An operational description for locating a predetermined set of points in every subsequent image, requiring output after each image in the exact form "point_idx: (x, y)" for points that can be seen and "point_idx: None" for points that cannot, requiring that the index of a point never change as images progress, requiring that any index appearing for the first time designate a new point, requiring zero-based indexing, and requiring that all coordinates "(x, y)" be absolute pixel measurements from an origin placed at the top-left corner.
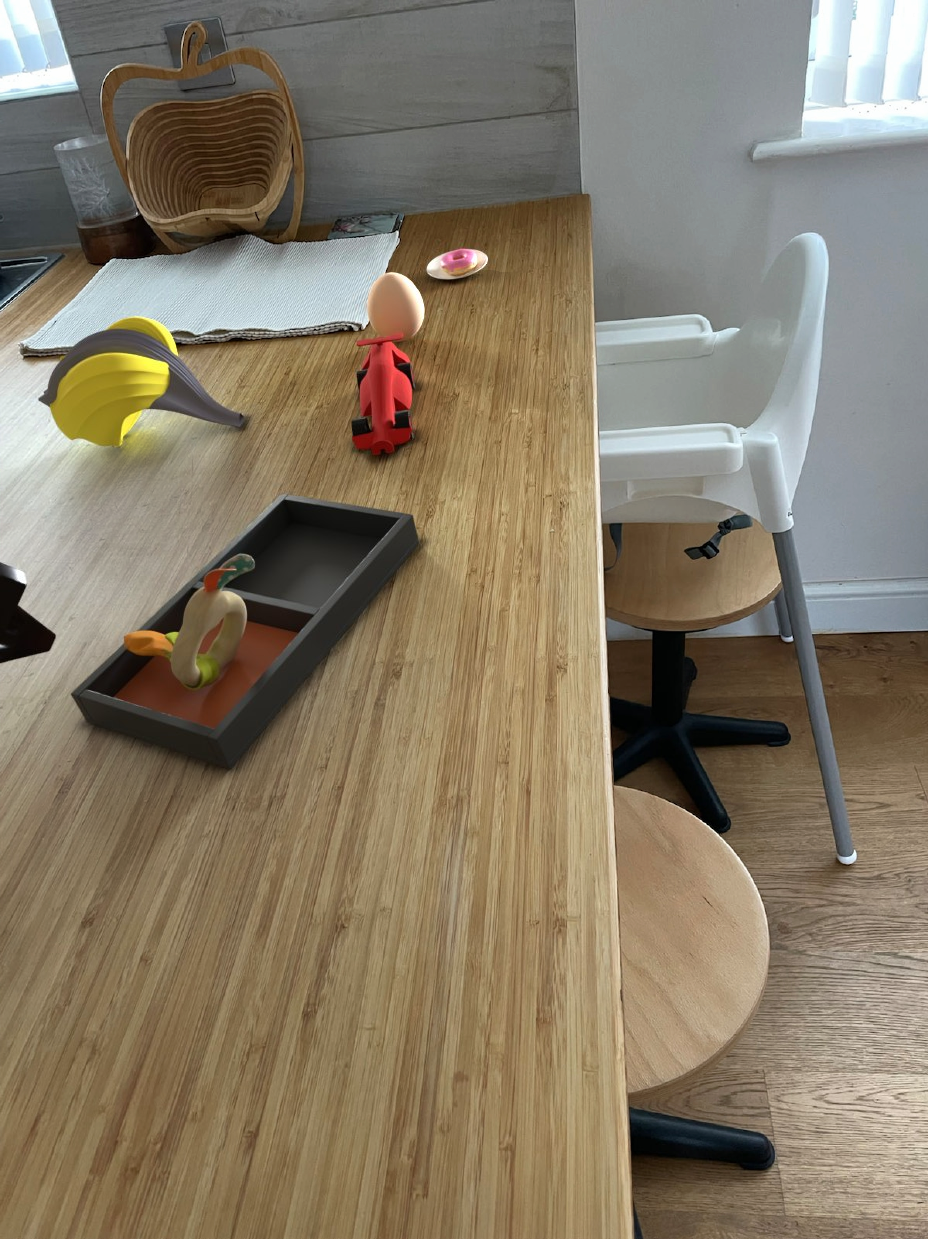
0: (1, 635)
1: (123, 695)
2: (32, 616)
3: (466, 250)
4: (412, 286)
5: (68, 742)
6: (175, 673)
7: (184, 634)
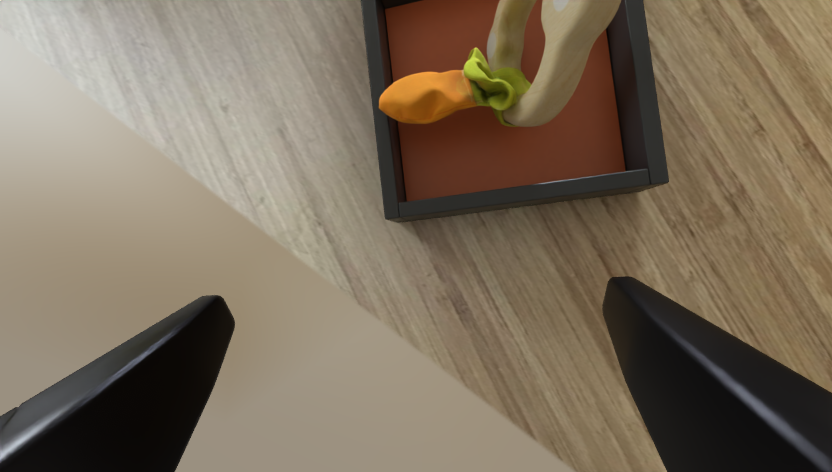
0: None
1: (415, 172)
2: (803, 377)
3: None
4: None
5: (401, 255)
6: (533, 124)
7: (571, 62)
